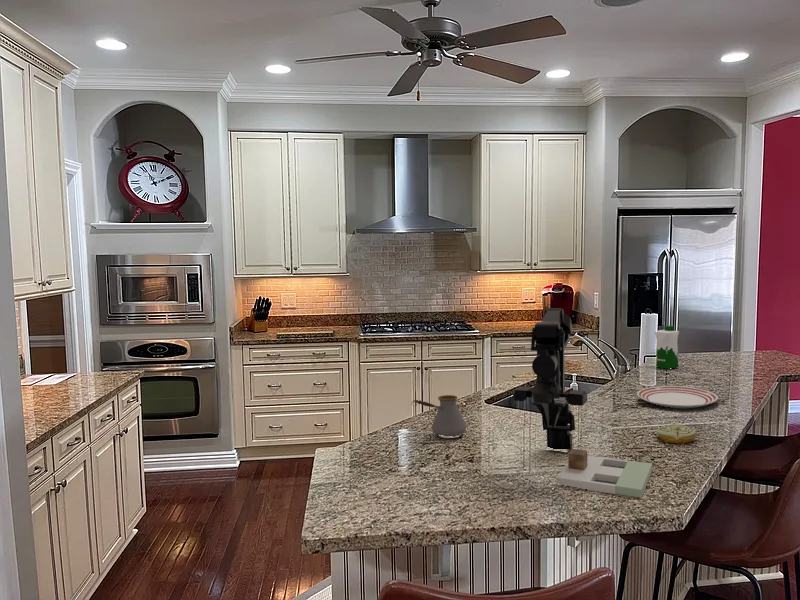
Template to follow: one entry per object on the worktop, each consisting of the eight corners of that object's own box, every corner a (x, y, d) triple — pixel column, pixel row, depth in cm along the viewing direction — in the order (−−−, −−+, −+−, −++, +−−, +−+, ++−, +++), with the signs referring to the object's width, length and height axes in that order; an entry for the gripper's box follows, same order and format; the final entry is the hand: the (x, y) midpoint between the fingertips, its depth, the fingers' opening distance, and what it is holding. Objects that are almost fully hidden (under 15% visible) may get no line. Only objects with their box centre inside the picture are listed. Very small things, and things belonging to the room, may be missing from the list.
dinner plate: (728, 412, 206) (728, 403, 206) (645, 412, 212) (645, 403, 212) (704, 393, 233) (704, 385, 233) (631, 394, 239) (631, 386, 239)
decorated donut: (649, 438, 183) (649, 426, 183) (672, 432, 188) (672, 420, 188) (679, 447, 174) (679, 434, 174) (703, 440, 179) (702, 427, 179)
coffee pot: (448, 428, 204) (446, 385, 203) (474, 434, 196) (472, 390, 195) (403, 443, 190) (400, 397, 189) (428, 451, 181) (426, 403, 180)
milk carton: (681, 368, 282) (680, 326, 281) (668, 370, 279) (667, 328, 277) (666, 365, 290) (665, 325, 289) (652, 367, 287) (652, 326, 285)
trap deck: (557, 485, 150) (557, 477, 150) (575, 461, 166) (575, 454, 166) (641, 497, 140) (641, 489, 140) (652, 470, 156) (652, 463, 156)
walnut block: (568, 468, 156) (568, 453, 155) (572, 463, 159) (571, 448, 159) (584, 470, 154) (583, 455, 153) (587, 465, 157) (587, 450, 157)
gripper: (504, 373, 156) (507, 431, 157) (576, 377, 147) (578, 439, 148) (518, 366, 166) (520, 420, 167) (586, 369, 156) (588, 427, 157)
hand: (550, 427), depth 159 cm, fingers closed
